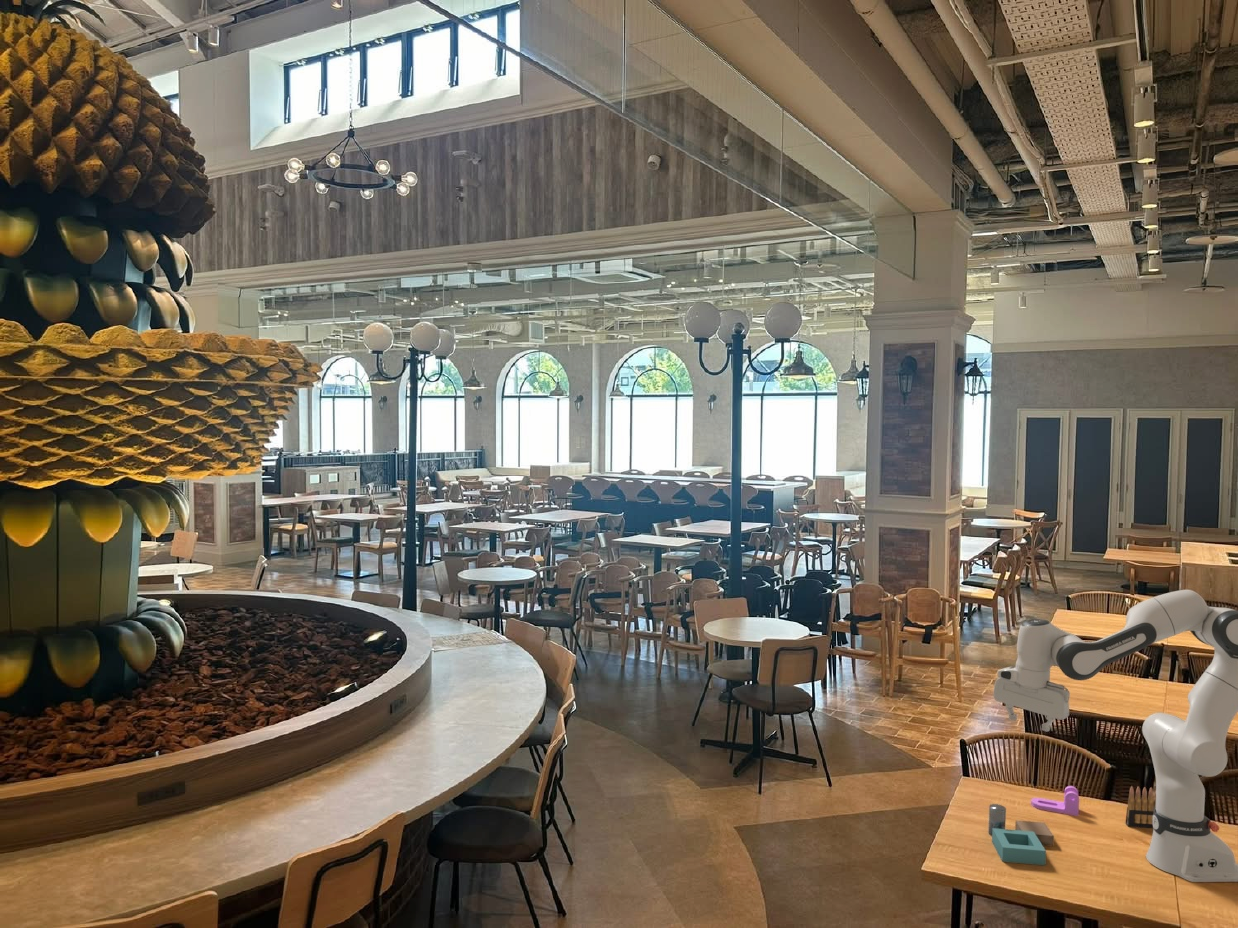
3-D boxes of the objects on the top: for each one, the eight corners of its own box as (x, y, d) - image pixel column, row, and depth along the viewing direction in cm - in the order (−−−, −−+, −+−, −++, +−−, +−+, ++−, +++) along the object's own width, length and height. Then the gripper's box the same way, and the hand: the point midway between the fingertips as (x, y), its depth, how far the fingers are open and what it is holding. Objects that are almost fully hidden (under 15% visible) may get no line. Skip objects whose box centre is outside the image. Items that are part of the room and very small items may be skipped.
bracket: (1077, 808, 271) (1078, 786, 271) (1078, 816, 266) (1079, 794, 266) (1031, 800, 277) (1031, 779, 276) (1030, 807, 272) (1031, 785, 271)
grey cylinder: (1002, 831, 256) (1003, 804, 256) (1006, 838, 252) (1007, 811, 252) (986, 829, 257) (987, 803, 257) (990, 837, 253) (991, 810, 252)
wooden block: (1044, 832, 256) (1044, 822, 256) (1053, 845, 248) (1053, 835, 248) (1015, 830, 257) (1015, 820, 257) (1023, 843, 249) (1023, 833, 249)
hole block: (1033, 845, 248) (1033, 831, 248) (1045, 865, 237) (1045, 850, 237) (991, 841, 250) (992, 828, 250) (1002, 861, 239) (1002, 847, 239)
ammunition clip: (1164, 826, 260) (1165, 786, 259) (1166, 829, 258) (1168, 789, 258) (1125, 823, 262) (1127, 784, 261) (1128, 826, 260) (1129, 787, 259)
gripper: (1075, 685, 240) (1071, 734, 241) (1003, 665, 256) (1000, 712, 257) (1064, 689, 236) (1060, 739, 237) (992, 669, 252) (989, 716, 253)
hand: (1028, 725), depth 247 cm, fingers open, 8 cm apart
